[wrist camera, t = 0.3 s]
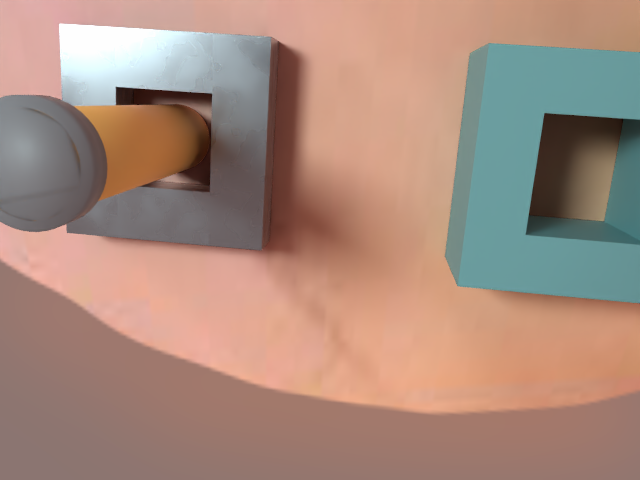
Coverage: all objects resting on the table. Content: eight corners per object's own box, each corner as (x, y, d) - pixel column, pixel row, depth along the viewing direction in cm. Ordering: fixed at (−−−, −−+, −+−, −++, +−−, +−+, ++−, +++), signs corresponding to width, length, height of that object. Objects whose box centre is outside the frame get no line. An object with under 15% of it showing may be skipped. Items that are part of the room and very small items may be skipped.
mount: (81, 29, 35) (59, 23, 33) (278, 41, 34) (271, 36, 32) (86, 224, 38) (66, 232, 36) (269, 240, 37) (261, 250, 35)
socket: (469, 53, 33) (489, 43, 27) (689, 67, 32) (758, 59, 27) (445, 256, 36) (457, 286, 30) (646, 274, 35) (699, 308, 29)
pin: (140, 95, 36) (-44, 90, 20) (217, 100, 35) (90, 100, 20) (140, 173, 37) (-34, 225, 21) (214, 179, 36) (93, 237, 21)
